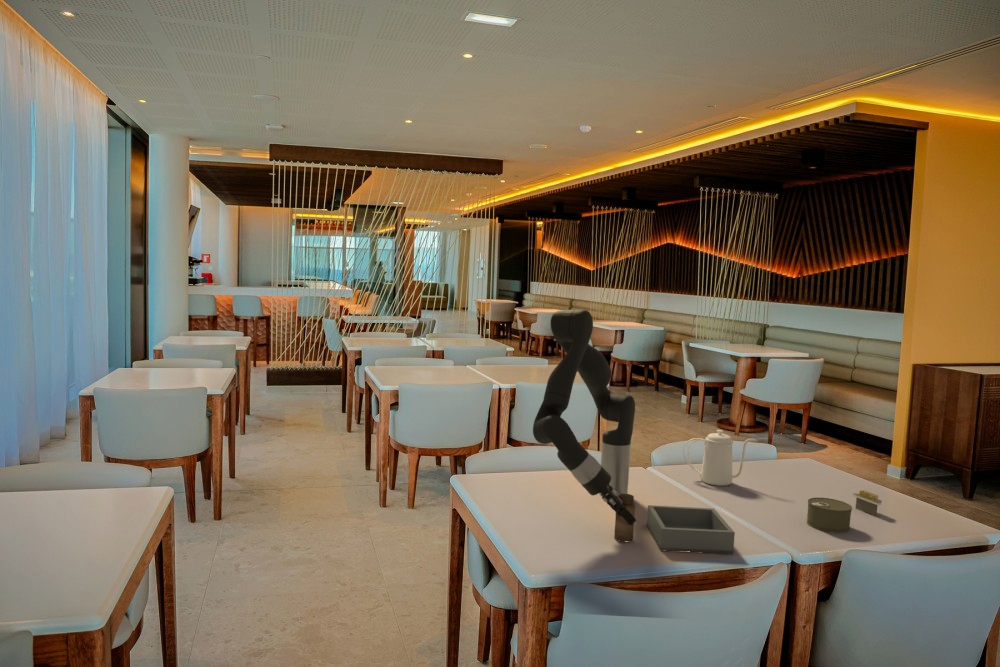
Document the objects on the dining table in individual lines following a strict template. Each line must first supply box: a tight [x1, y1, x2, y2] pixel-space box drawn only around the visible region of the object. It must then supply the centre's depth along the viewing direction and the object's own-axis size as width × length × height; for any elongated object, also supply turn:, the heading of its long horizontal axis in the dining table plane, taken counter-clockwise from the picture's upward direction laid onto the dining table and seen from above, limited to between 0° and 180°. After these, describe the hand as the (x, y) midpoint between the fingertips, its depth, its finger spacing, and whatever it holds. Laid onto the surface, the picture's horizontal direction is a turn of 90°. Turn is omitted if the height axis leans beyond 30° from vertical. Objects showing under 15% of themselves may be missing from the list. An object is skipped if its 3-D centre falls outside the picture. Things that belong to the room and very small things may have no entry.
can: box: [806, 497, 853, 534], centre depth 215 cm, size 12×12×7 cm
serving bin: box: [646, 504, 736, 555], centre depth 198 cm, size 19×19×6 cm
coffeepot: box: [682, 429, 759, 487], centre depth 255 cm, size 11×25×19 cm, turn 71°
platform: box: [851, 490, 883, 517], centre depth 230 cm, size 12×18×7 cm, turn 21°
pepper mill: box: [613, 493, 636, 542], centre depth 196 cm, size 5×5×12 cm
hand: (631, 518), depth 196 cm, fingers closed on pepper mill, 5 cm apart
